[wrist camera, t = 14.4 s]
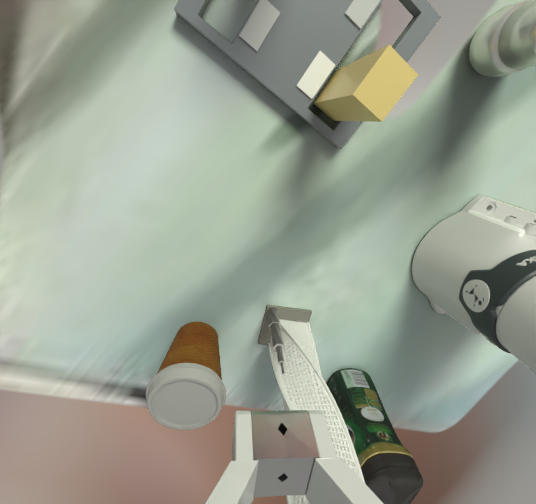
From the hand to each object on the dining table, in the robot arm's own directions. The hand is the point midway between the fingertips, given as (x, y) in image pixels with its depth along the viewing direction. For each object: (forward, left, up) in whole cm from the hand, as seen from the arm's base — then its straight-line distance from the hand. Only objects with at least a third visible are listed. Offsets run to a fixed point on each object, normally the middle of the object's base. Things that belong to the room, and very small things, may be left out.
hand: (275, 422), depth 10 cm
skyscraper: (-8, +20, -31) cm, 38 cm away
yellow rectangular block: (-9, -13, -31) cm, 35 cm away
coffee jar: (-20, +32, -31) cm, 49 cm away
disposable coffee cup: (+6, +22, -31) cm, 39 cm away
